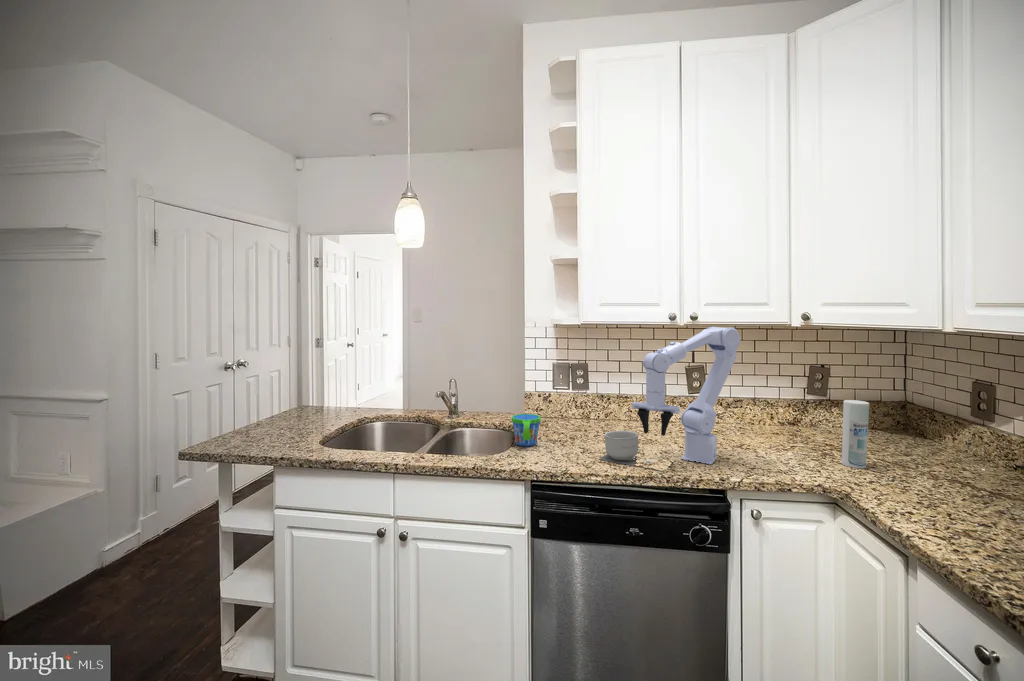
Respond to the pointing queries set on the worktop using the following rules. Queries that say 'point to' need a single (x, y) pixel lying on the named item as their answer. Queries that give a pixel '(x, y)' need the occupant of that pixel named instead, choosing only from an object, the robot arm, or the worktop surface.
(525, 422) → the snack cup
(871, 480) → the worktop surface
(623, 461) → the label mat
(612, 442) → the teacup
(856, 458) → the spray can
